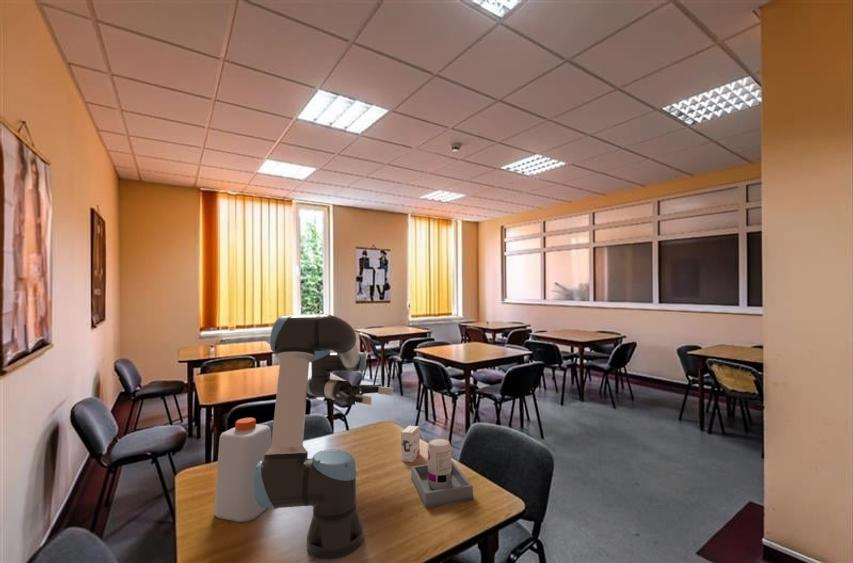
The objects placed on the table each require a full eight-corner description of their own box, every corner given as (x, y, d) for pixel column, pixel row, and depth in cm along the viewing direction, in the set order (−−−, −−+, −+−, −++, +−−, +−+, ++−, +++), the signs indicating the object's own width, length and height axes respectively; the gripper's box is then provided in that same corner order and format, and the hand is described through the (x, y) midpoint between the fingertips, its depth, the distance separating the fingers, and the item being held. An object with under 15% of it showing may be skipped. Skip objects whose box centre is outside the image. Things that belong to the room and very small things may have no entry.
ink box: (409, 452, 164) (408, 424, 164) (420, 454, 162) (419, 425, 162) (401, 461, 156) (400, 431, 156) (412, 462, 154) (412, 432, 154)
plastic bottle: (281, 499, 128) (280, 414, 129) (248, 526, 113) (247, 430, 114) (244, 493, 132) (243, 411, 133) (207, 518, 118) (207, 426, 119)
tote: (472, 499, 125) (472, 485, 125) (425, 508, 121) (425, 493, 121) (452, 472, 145) (452, 460, 145) (411, 478, 140) (411, 466, 140)
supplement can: (425, 490, 130) (424, 445, 131) (432, 478, 138) (431, 436, 138) (448, 493, 128) (447, 447, 128) (454, 481, 136) (453, 438, 136)
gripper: (359, 392, 163) (400, 397, 153) (315, 407, 142) (360, 415, 131) (359, 374, 164) (400, 378, 153) (315, 387, 142) (360, 393, 132)
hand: (382, 396), depth 142 cm, fingers open, 13 cm apart
